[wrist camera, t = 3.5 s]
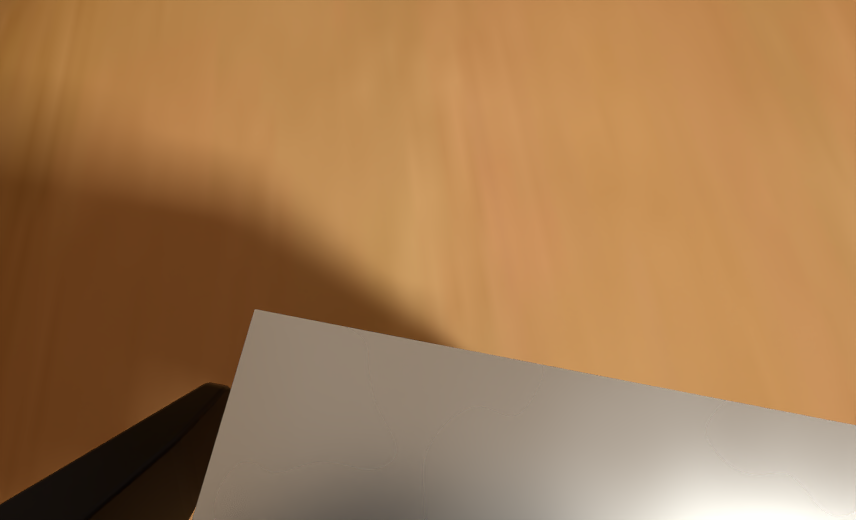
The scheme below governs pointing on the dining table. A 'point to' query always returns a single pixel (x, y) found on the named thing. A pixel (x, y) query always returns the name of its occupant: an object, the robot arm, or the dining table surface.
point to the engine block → (498, 440)
